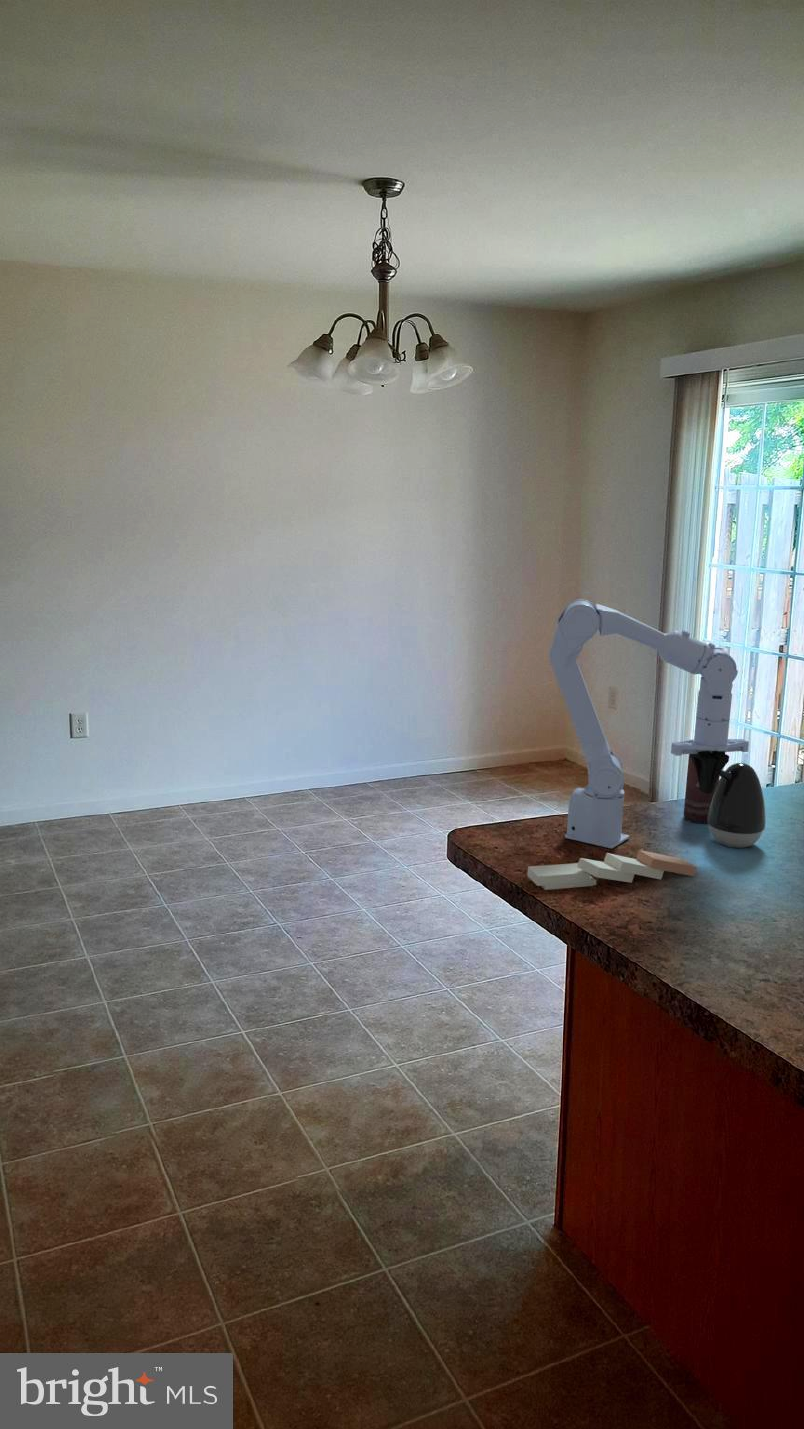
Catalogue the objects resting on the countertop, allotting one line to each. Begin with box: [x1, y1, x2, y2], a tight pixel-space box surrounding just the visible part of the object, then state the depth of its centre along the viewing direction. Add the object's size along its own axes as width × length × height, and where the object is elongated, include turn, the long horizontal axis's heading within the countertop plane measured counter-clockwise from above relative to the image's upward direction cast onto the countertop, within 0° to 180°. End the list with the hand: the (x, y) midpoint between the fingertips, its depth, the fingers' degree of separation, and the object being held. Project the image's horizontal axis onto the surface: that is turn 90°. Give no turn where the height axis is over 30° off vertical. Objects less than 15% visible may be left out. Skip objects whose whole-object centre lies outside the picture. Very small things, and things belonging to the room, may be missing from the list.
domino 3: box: [577, 857, 636, 883], centre depth 171 cm, size 2×4×9 cm
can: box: [683, 754, 721, 825], centre depth 205 cm, size 6×6×14 cm
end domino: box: [635, 849, 697, 877], centre depth 176 cm, size 2×4×9 cm
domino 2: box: [540, 875, 597, 891], centre depth 172 cm, size 2×4×9 cm
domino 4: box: [603, 852, 665, 880], centre depth 174 cm, size 2×4×9 cm
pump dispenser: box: [707, 762, 767, 849], centre depth 191 cm, size 10×10×15 cm
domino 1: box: [526, 862, 591, 887], centre depth 171 cm, size 2×4×9 cm
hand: (705, 791), depth 188 cm, fingers closed
